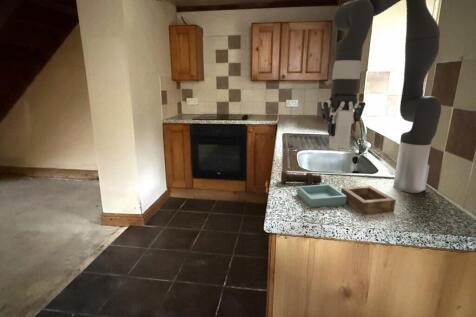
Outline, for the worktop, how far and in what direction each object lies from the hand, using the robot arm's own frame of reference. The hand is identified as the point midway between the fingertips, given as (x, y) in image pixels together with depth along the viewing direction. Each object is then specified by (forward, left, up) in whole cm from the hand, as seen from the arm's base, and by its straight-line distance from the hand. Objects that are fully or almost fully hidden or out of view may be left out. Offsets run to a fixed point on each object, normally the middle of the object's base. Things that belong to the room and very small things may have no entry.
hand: (339, 135), depth 85 cm
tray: (+3, -2, -22) cm, 22 cm away
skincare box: (0, 0, -5) cm, 5 cm away
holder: (-9, +5, -22) cm, 24 cm away
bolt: (+4, -18, -23) cm, 29 cm away
